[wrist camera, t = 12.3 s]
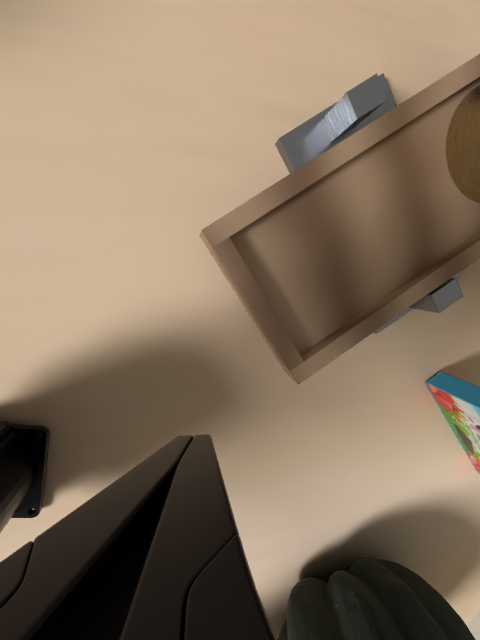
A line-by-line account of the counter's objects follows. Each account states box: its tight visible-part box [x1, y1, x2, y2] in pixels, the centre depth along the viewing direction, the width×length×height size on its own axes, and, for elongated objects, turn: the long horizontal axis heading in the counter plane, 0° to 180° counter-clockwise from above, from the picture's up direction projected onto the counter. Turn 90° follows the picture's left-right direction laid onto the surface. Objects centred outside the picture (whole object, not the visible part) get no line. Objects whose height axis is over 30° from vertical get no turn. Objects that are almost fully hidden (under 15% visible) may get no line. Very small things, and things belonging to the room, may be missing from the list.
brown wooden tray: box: [200, 54, 480, 384], centre depth 17 cm, size 23×10×2 cm, turn 122°
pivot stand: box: [275, 74, 463, 333], centre depth 18 cm, size 8×15×4 cm, turn 32°
